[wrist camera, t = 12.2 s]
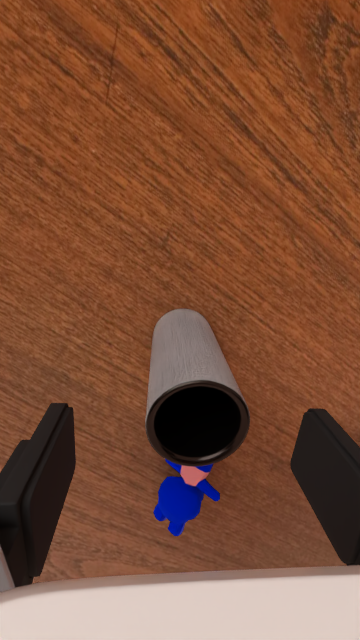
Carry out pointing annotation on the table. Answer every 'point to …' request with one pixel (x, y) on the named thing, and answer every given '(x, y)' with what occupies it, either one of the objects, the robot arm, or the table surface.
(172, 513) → the figurine
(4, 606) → the robot arm
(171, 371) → the planter
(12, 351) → the table surface
